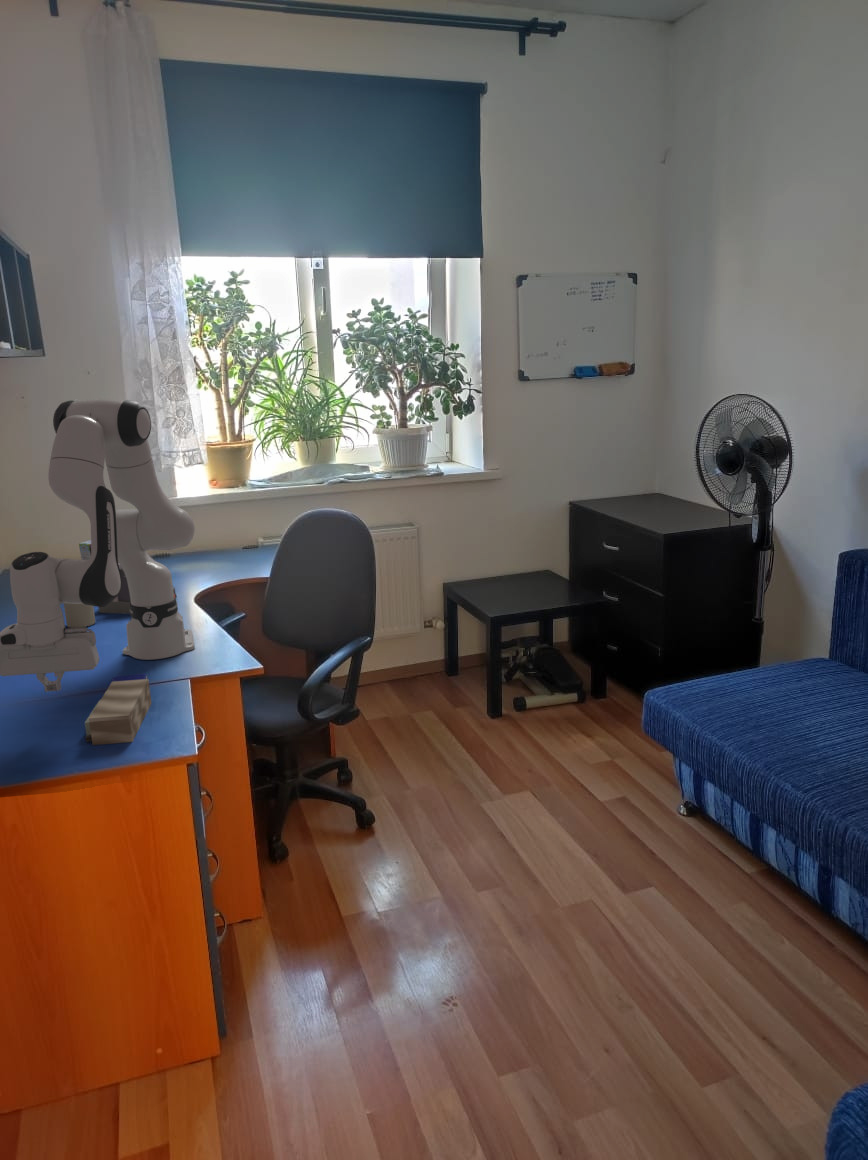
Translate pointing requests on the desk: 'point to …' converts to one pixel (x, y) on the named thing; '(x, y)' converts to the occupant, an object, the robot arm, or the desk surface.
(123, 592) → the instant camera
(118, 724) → the low shelf
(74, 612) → the travel mug
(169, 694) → the desk surface
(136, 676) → the hard drive
